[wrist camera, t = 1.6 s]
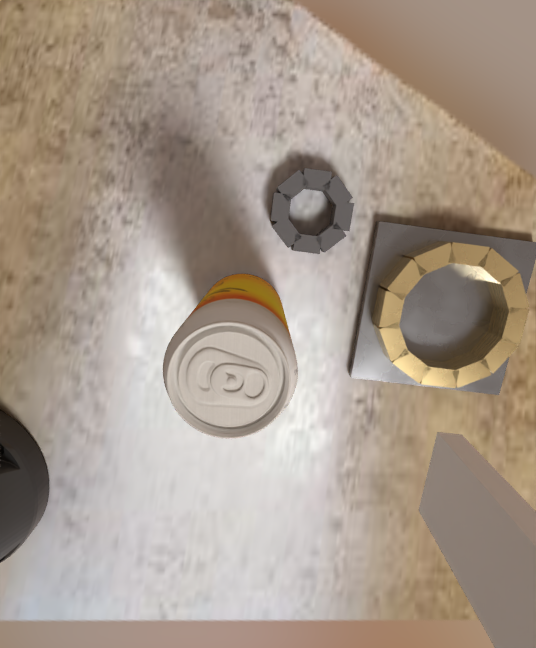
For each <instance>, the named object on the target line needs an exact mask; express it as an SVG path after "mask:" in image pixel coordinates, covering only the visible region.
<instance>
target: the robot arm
mask: <svg viewBox="0 0 536 648" xmlns="http://www.w3.org/2000/svg"><path fill="white" fill-rule="evenodd" d="M48 496H49V477H48V472H47V468H46V464H45V461H44V459H43V456H42V454H41V452H40V450H39V449H38V447H37V445H36V444H35V442H34V441H33V439H32V438H31V437H30V435H29V434H28V433H27V432H26V431H25V430H24V429H23V428H22V427H21V426H20V425H19V424H18V423H17V422H16V421H15V420H14V419H12V418H11V417H10V416H8V415H7V414H5V413H4V412H2V411H1V410H0V563H1V562H3V561H4V560H6V559H7V558H8V557H10V556H11V555H12V554H13V553H14V552H15V551H16V550H17V549H18V548H19V547H20V546H21V545H22V544H23V543H24V542H25V540H26V539H27V538H28V536H29V535H30V534H31V532H32V531H33V530H34V528H35V527H36V526H37V524H38V523H39V521H40V520H41V518H42V516H43V514H44V511H45V509H46V506H47V502H48ZM419 512H420V514H421V515H422V517H423V519H424V521H425V523H426V524H427V526H428V528H429V530H430V532H431V534H432V535H433V537H434V539H435V541H436V543H437V544H438V546H439V548H440V550H441V552H442V553H443V555H444V557H445V559H446V561H447V562H448V564H449V566H450V568H451V570H452V571H453V573H454V575H455V577H456V579H457V580H458V582H459V584H460V586H461V588H462V589H463V591H464V593H465V595H466V597H467V598H468V600H469V602H470V604H471V606H472V607H473V609H474V611H475V613H476V615H477V616H478V618H479V620H480V622H481V624H482V625H483V627H484V629H485V631H486V633H487V634H488V636H489V638H490V640H491V642H492V643H493V645H494V647H495V648H536V511H535V510H534V509H533V508H532V507H531V506H530V505H529V504H528V503H527V502H526V501H525V500H524V499H523V498H522V497H521V496H520V495H519V494H518V493H517V492H516V491H515V490H514V488H513V487H512V486H511V485H510V484H509V483H508V482H507V481H506V480H505V479H504V478H503V477H502V476H501V475H500V474H499V473H498V472H497V471H496V470H495V469H494V468H493V467H492V466H491V465H490V464H489V462H488V461H487V460H486V459H485V458H484V457H483V456H482V455H481V454H480V453H479V452H478V451H477V450H476V449H475V448H474V447H473V446H472V445H471V444H470V443H469V442H468V441H467V440H466V439H465V438H464V437H463V435H459V434H451V433H442V432H437V436H436V440H435V444H434V449H433V453H432V457H431V461H430V465H429V469H428V473H427V478H426V482H425V486H424V490H423V494H422V498H421V503H420V507H419Z"/></svg>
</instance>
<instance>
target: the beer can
mask: <svg viewBox="0 0 536 648" xmlns="http://www.w3.org/2000/svg"><path fill="white" fill-rule="evenodd" d="M297 376H298V367H297V360H296V355H295V352H294V348H293V344H292V340H291V337H290V333H289V329H288V325H287V322H286V318H285V314H284V310H283V307H282V303H281V300H280V298H279V296H278V294H277V292H276V291H275V289H274V288H273V287H272V286H271V285H270V284H269V283H268V282H266V281H265V280H263V279H261V278H259V277H257V276H254V275H250V274H235V275H231V276H228V277H225V278H223V279H221V280H220V281H218V282H217V283H216V284H215V285H214V286H213V287H212V288H211V289H210V290H209V291H208V293H207V294H206V295H205V296H204V298H203V299H202V300H201V302H200V303H199V304H198V305H197V307H196V308H195V309H194V310H193V312H192V313H191V314H190V315H189V317H188V318H187V319H186V320H185V322H184V323H183V324H182V325H181V327H180V328H179V329H178V330H177V332H176V333H175V334H174V336H173V337H172V339H171V341H170V343H169V345H168V347H167V350H166V353H165V357H164V362H163V377H164V383H165V387H166V390H167V393H168V395H169V397H170V400H171V402H172V404H173V406H174V408H175V410H176V411H177V412H178V414H179V415H180V416H181V417H182V418H183V420H184V421H186V422H187V423H188V424H189V425H190V426H192V427H193V428H195V429H196V430H198V431H200V432H202V433H204V434H207V435H210V436H213V437H218V438H241V437H245V436H249V435H252V434H254V433H257V432H259V431H261V430H262V429H264V428H265V427H267V426H268V425H269V424H271V423H272V422H273V421H274V420H275V419H276V418H277V417H278V416H279V415H280V414H281V413H282V412H283V411H284V409H285V408H286V407H287V405H288V404H289V402H290V400H291V398H292V396H293V394H294V391H295V388H296V384H297Z"/></svg>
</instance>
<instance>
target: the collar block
mask: <svg viewBox="0 0 536 648" xmlns="http://www.w3.org/2000/svg"><path fill="white" fill-rule="evenodd" d="M535 259H536V242H529V241H521V240H514V239H507V238H499V237H492V236H484V235H477V234H469V233H462V232H455V231H447V230H440V229H432V228H425V227H417V226H410V225H402V224H395V223H388V222H380V221H378V222H376V228H375V233H374V239H373V244H372V250H371V255H370V261H369V266H368V272H367V277H366V283H365V288H364V294H363V299H362V305H361V310H360V316H359V321H358V327H357V332H356V338H355V343H354V349H353V354H352V360H351V365H350V371H349V375H350V377H351V378H358V379H367V380H375V381H384V382H393V383H401V384H410V385H418V386H427V387H435V388H444V389H452V390H461V391H470V392H478V393H487V394H495V395H499V393H500V389H501V386H502V382H503V378H504V374H505V371H506V367H507V363H508V360H509V356H510V355H511V354H512V353H513V352H514V351H515V350H516V349H517V348H518V346H517V345H516V344H520V341H521V338H522V334H523V330H524V327H525V323H526V319H527V316H528V312H529V309H527V308H528V307H529V304H528V300H527V297H526V293H527V289H528V285H529V282H530V278H531V274H532V271H533V267H534V263H535Z"/></svg>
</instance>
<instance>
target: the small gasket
mask: <svg viewBox="0 0 536 648" xmlns="http://www.w3.org/2000/svg"><path fill="white" fill-rule="evenodd" d="M331 176H332V172H330V171H322V170H315V169H308V168H304V170H303V172H302V173H301V171H300V170H298V171H297V172H296V173H294V174H293V175H292V176H291V177H289V178H288V179H287V180H286V181H284V182H283V183H282V184H281V185H279V186H278V187H277V191H278V192H279V193H275V192H274V196H273V204H272V211H271V219H270V221H276V223H275V224H274V225H272V227H273V228H274V230H275V231H276V232H277V234H278V235H279V236H280V238H281V239H282V240H283V242H284V243H285V244H286V246H287V247H288V248H289V247H290V246H291V245H292V250H294V251H301V252H309V253H317V254H320V249H321V251H323V252H326V251H327V250H329V249H330V248H331V247H332V246H334V245H335V244H336V243H338V242H339V241H340V240H342V239H343V238H344V237H346V235H345V233H344V232H343V230H344V231H349V230H350V224H351V218H352V212H353V206H354V203H348V201H349V200H350V199H352V198H353V197H352V196H351V194H350V193H349V192H348V190H347V189H346V187H345V186H344V184H343V183H342V181H341V180H340V179H339V177H338V176H337V175H336V176H334V177H333V178H332V179H331ZM303 189H310V190H317V191H322V192H323V193H324V194H325V196H326V197H327V199H328V200H329V202H330V203H331V204H332V206H333V208H332V214H331V221H330V225H329V226H327V227H326V228H325V229H324V230H322V231H321V232H320V233H318V234H317V235H316V236H313V235H305V234H299V232H298V231H297V230H296V228H295V227H294V226H293V224H292V223H291V222H290V220H289V219H288V217H289V210H290V202H291V199H292V198H293V197H294V196H296V195H297V194H298V193H299V192H301V191H302V190H303Z"/></svg>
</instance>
